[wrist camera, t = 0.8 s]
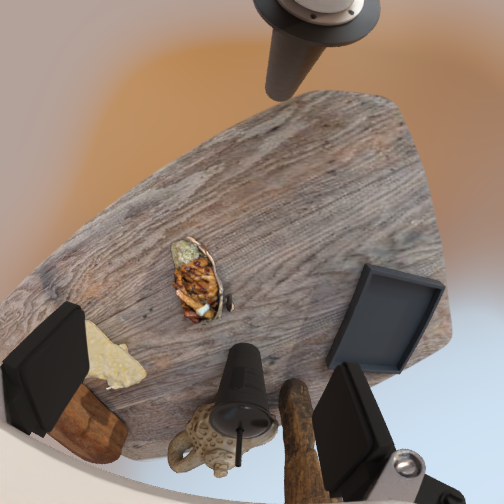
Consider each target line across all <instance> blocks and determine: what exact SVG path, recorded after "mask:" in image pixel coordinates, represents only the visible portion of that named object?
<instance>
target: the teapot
mask: <svg viewBox="0 0 504 504" xmlns="http://www.w3.org/2000/svg"><path fill="white" fill-rule="evenodd" d="M214 404H215V402H214V403H209V404H203V405H201V406H200V407H198V408H197V409H196V411H195V414H194V415H193V416H192V418H191V419H190V420H189V422H188V423H187V424H186V430H184V431H181V432H180V433H179V434H177V435H176V436H175V437H174V438H173V440H172V441H171V442H170V444H169V447H168V463H169V466H170V468H171V469H172V470H173V471H175V472H176V473H182V472H187V471H190V470H192V469H194V468H196V467H198V466H200V465H202V464H204V463H206V465H207V466H208V467H209V468H211V469H214V476H215V477H217V478H221V477H225V476H227V474H228V472H227V470H230V469H232V468H233V467H235V454H236V439H234V438H229V437H226V436H223V435H221V434H219V433H217V432H216V431H215V430H214V429H213V428H212V427H211V426H210V423H209V414H210V412H211V410H212V409H213V407H214ZM271 416H272V426H271V428H270V429H269V431H268V432H266V433H265V434H263V435H261V436H259V437H256V438H252V439H242V455H243V453H245V452H248V451H249V449H251V448H253V447H256V446H260V445H263V444H266V443H267V442H269V441H271V440H272V439H273V438H274V437H275V435H276V434H277V431H278V424H279V423H278V421H277V420H276V417H275V415H272V414H271ZM191 447H193V450H192V451H191V452H190V453H189V454H188V455H187V456H186V457H185V458H183V453H184V452H185V450H186V449H189V448H191Z"/></svg>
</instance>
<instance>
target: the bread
mask: <svg viewBox="0 0 504 504" xmlns="http://www.w3.org/2000/svg"><path fill="white" fill-rule="evenodd" d="M47 434H49V435H50V436H51V437H52V438H54V439H55V440H56V441H58V442H59V443H60V444H62V445H63V446H64V447H66V448H67V449H68V450H70V451H71V452H72V453H74V454H75V455H77V456H79V457H80V458H82V459H84V460H86V461H88V462H91V463H96V464H108V463H112V462H114V461H115V460H117V459H118V458H119V457H120V455H121V449H122V447H123V446H124V443H125V440H126V437H127V435H128V429H127V427H126V426H125V424H124V423H123V422H122V421H121V420H120V419H119V418H118V417H117V416H116V415H115V414H114V413H112V412H111V411H110V410H109V409H108V408H107V407H106V406H104V405H103V404H102V403H101V402H100V401H99V400H98V399H97V398H96V397H95V395H94V394H93V393H92V392H91V391H90V390H89V389H88V388H87V387H86V386H84V385H83V384H82V383H81V385H80V386H79V388H78V389H77V391H76V393H75V394H74V396H73V397H72V399H71V400H70V402H69V404H68V405H67V407H66V408H65V410H64V412H63V413H62V415H61V416H60V418H59V420H58V421H57V423H56V425H55V426H54V428H53V430H52V431H51V432H50V433H48V432H47Z"/></svg>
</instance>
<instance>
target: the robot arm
mask: <svg viewBox="0 0 504 504" xmlns="http://www.w3.org/2000/svg"><path fill="white" fill-rule="evenodd" d="M277 1H278V2H279V3H280V5H281V6H282V7H283V8H284V9H285V10H286V11H288V12H289V13H290V14H292V15H293V16H295V17H297V18H299V19H301V20H303V21H306V22H309V23H312V24H317V25H324V26H334V25H340V24H344V23H347V22H349V21H351V20H353V19H354V18H355V17H356V16H357V15H358V14H359V12H360V11H361V9H362V7H363V4H364V0H277ZM312 18H314V19H312ZM89 369H90V363H89V355H88V347H87V337H86V326H85V314H84V311H82V310H81V307H80V306H79V305H77V304H74V303H71V302H68V301H66V302H64V303H63V304H62V305H61V306H60V307H59V308H58V309H56V310H55V311H54V312H53V313H52V314H51V315H50V316H49V317H48V318H47V319H45V320H44V321H43V322H42V323H41V324H40V325H39V326H38V327H37V328H36V329H35V330H34V331H33V332H32V333H31V334H29V335H28V336H27V337H26V338H25V339H24V340H23V341H22V342H21V343H20V344H19V345H18V346H17V347H16V348H15V349H14V350H13V351H12V352H11V353H10V354H9V355H8V356H7V357H6V358H5V359H4V360H3V364H2V365H1V366H0V504H265V503H249V502H239V501H229V500H222V499H214V498H208V497H202V496H196V495H191V494H186V493H181V492H176V491H172V490H168V489H163V488H159V487H156V486H152V485H148V484H144V483H141V482H138V481H134V480H131V479H128V478H125V477H122V476H118V475H116V474H113V473H110V472H107V471H105V470H102V469H99V468H97V467H94V466H91V465H89V464H87V463H84V462H82V461H80V460H77V459H75V458H73V457H71V456H68V455H66V454H64V453H62V452H60V451H58V450H56V449H54V448H52V447H50V446H48V445H46V444H44V443H42V442H40V441H38V440H36V439H34V438H32V437H30V436H29V435H30V434H31V432H33V433H35V434H37V435H39V436H41V437H42V438H44V436H45V434H46V433H47V432H48V433H50V432H51V431H52V430H53V428H54V426H55V425H56V423H57V421H58V420H59V418H60V416H61V415H62V413H63V412H64V410H65V408H66V407H67V405H68V404H69V402H70V400H71V399H72V397H73V396H74V394H75V393H76V391H77V389H78V388H79V386H80V385H81V383H82V382H83V380H84V379H85V377H86V376H87V374H88V372H89ZM312 425H313V430H314V435H315V441H316V446H317V451H318V457H319V462H320V468H321V473H322V479H323V484H324V489H325V491H329V496H330V498H340V497H342V498H343V502H342V503H327V504H466V502H465V498H464V496H463V495H462V494H461V492H460V491H458V490H456V489H454V488H452V487H450V486H448V485H446V484H444V483H442V482H440V481H438V480H436V479H434V478H432V477H430V476H428V475H427V474H425V470H426V466H425V462H424V460H423V458H422V457H421V456H420V455H419V454H417V453H416V452H414V451H412V450H409V449H400V450H397V451H396V448H395V446H394V442H393V440H392V437H391V435H390V433H389V430H388V428H387V426H386V423H385V421H384V418H383V416H382V414H381V411H380V409H379V407H378V405H377V402H376V400H375V398H374V396H373V394H372V391H371V389H370V387H369V384H368V382H367V380H366V378H365V375H364V373H363V371H362V369H361V367H360V365H359V363H354V362H342V363H341V365H337V366H336V368H335V370H334V372H333V374H332V376H331V378H330V380H329V382H328V384H327V386H326V388H325V390H324V392H323V394H322V396H321V398H320V400H319V402H318V404H317V406H316V408H315V409H314V411H313V414H312Z"/></svg>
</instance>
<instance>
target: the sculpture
mask: <svg viewBox="0 0 504 504" xmlns="http://www.w3.org/2000/svg"><path fill="white" fill-rule="evenodd" d="M279 411H280V415H281V423H282V427H283V441H284V447H285V467H284V474H285V475H284V493H285V504H327V503H342V502H343V500H342V497H340V498H330V496H329V491H325V489H324V484H323V479H322V473H321V469H320V465H319V461H318V456H317V453H316V451H315V450H314V442H315V435H314V430H313V425H312V414H313V408H312V404H311V399H310V395H309V391H308V387H307V385H306V384H305V382H303V381H301V380H299V379H295V378H293V379H289V380H287V381H286V382H285V383H284V384H283V386H282V388H281V390H280V395H279Z"/></svg>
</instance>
